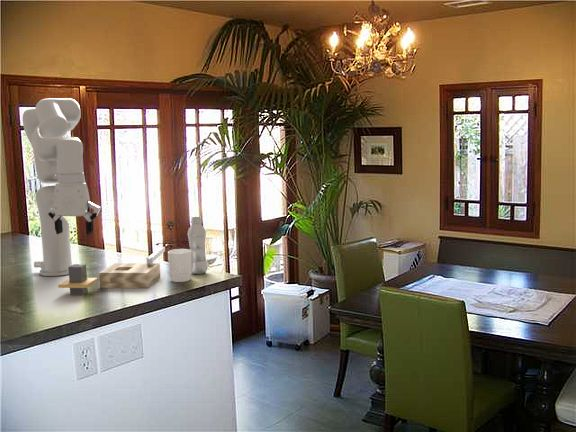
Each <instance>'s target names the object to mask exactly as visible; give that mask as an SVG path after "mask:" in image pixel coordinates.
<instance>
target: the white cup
mask: <svg viewBox="0 0 576 432" xmlns="http://www.w3.org/2000/svg"><path fill="white" fill-rule="evenodd" d="M167 259H168V268H169V273H170V281H171V282H173V283H184V282H188V281H190V280H191V277H192V275H191V274H192V273H191V250H190V248H175V249H170V250H168V251H167Z"/></svg>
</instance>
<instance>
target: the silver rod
mask: <svg viewBox="0 0 576 432" xmlns="http://www.w3.org/2000/svg"><path fill="white" fill-rule="evenodd" d="M164 252H166V247H165V246H159V247H158V248H157V249H156V250H154V252H152V254H150V255H149V256H148V257H146V263H147V266H153V263H154V262H155V261H156V260H157V259H158V258H159V257H160V256H161V255H163V254H164Z"/></svg>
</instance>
